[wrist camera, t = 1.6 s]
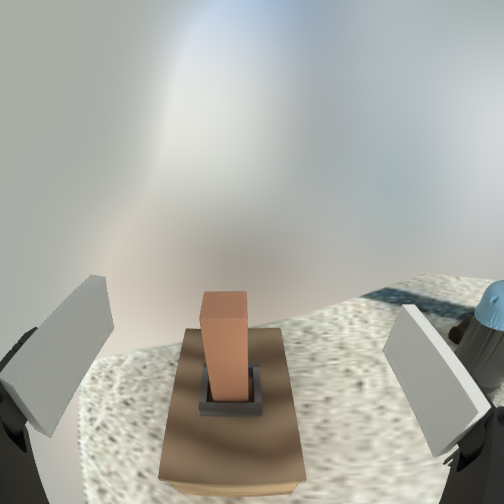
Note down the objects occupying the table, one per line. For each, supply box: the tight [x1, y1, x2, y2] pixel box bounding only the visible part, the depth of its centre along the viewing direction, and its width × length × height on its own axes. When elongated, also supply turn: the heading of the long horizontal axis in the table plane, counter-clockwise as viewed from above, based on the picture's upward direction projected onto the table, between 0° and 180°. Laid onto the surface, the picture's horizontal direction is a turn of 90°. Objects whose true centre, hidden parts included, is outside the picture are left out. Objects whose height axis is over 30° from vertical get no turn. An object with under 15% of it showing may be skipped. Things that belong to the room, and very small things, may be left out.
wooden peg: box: [200, 291, 248, 403], centre depth 27 cm, size 4×4×14 cm
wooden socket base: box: [158, 328, 306, 497], centre depth 31 cm, size 25×15×11 cm, turn 2°
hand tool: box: [449, 313, 475, 344], centre depth 47 cm, size 19×4×5 cm, turn 107°
